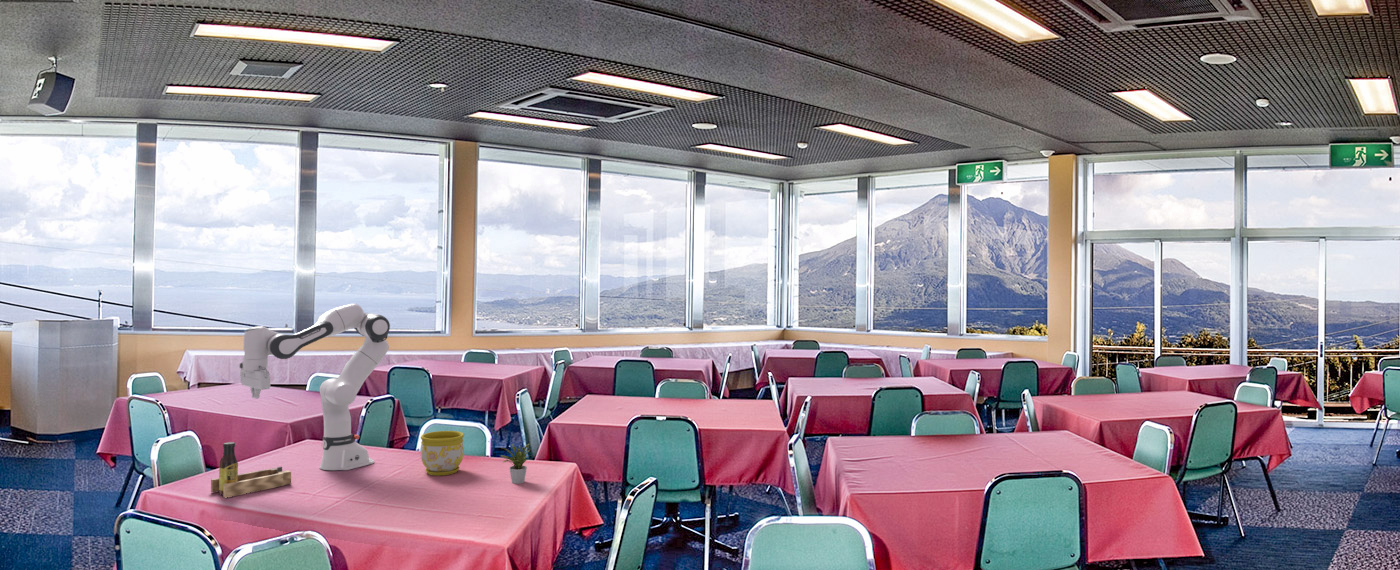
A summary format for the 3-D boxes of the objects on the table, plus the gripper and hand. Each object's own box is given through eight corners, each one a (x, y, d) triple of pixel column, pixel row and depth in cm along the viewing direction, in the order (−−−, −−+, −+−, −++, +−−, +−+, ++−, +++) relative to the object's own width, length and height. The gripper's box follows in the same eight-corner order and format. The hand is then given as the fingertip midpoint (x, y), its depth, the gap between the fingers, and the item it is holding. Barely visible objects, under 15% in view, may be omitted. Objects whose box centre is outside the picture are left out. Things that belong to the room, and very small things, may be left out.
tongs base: (278, 479, 333) (278, 463, 333) (286, 482, 328) (286, 467, 328) (211, 492, 313) (211, 476, 313) (219, 496, 308) (219, 479, 308)
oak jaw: (287, 482, 328) (287, 470, 328) (291, 483, 326) (291, 471, 326) (221, 496, 308) (221, 483, 308) (225, 498, 306) (225, 485, 305)
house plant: (513, 475, 344) (514, 437, 344) (541, 478, 339) (542, 440, 339) (494, 483, 330) (494, 444, 330) (523, 487, 326) (523, 447, 325)
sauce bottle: (228, 496, 309) (228, 445, 308) (215, 495, 310) (214, 444, 310) (241, 491, 315) (241, 441, 315) (228, 490, 317) (228, 441, 316)
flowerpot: (460, 465, 360) (460, 429, 360) (466, 474, 344) (467, 437, 344) (418, 469, 353) (418, 432, 352) (423, 479, 336) (423, 440, 336)
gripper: (274, 366, 329) (274, 399, 329) (253, 362, 342) (253, 394, 342) (258, 368, 324) (258, 401, 324) (237, 363, 337) (237, 396, 337)
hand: (255, 398), depth 333 cm, fingers closed
